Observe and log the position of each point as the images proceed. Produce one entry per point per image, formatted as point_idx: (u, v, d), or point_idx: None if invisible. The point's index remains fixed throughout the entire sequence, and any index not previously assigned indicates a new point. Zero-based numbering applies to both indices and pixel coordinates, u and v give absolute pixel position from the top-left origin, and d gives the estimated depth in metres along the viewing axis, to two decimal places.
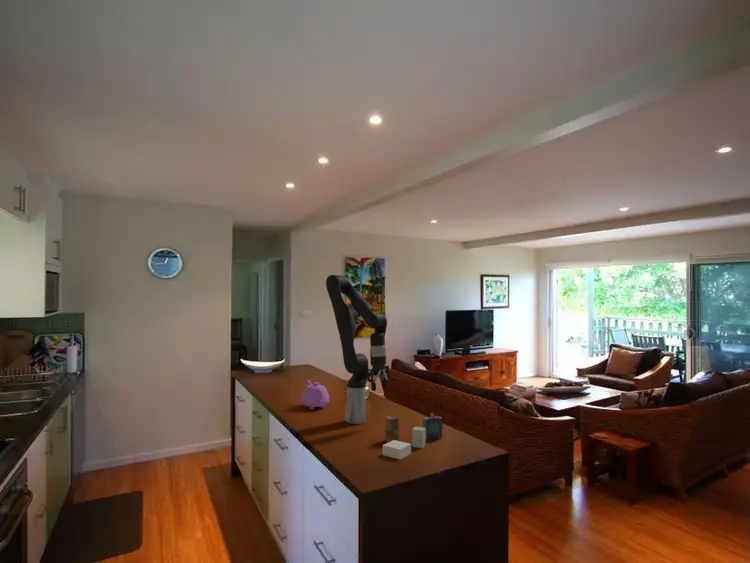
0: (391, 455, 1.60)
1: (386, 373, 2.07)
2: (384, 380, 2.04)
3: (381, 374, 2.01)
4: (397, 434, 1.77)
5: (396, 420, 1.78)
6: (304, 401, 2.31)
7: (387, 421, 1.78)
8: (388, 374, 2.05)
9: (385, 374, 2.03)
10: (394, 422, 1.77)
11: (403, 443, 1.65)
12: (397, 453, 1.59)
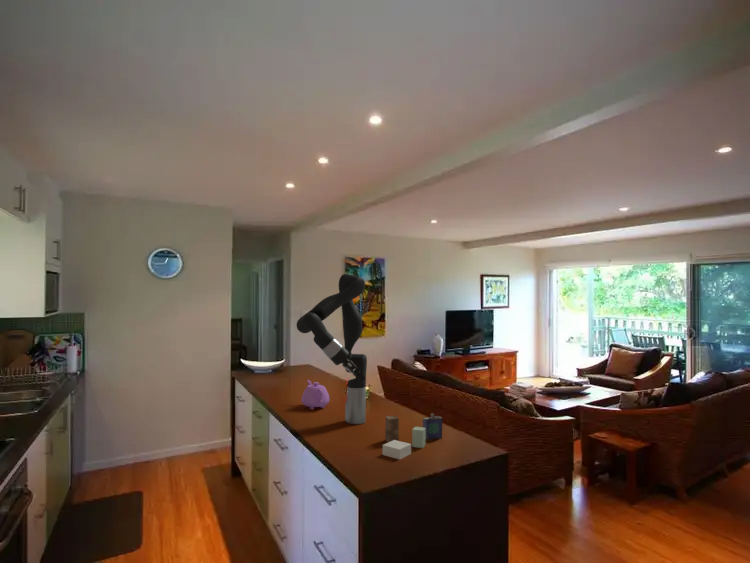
0: (391, 455, 1.60)
1: (356, 368, 1.69)
2: None
3: (348, 368, 1.75)
4: (397, 434, 1.77)
5: (396, 420, 1.78)
6: (304, 401, 2.31)
7: (387, 421, 1.78)
8: (352, 372, 1.70)
9: (349, 371, 1.73)
10: (394, 422, 1.77)
11: (403, 443, 1.65)
12: (397, 453, 1.59)
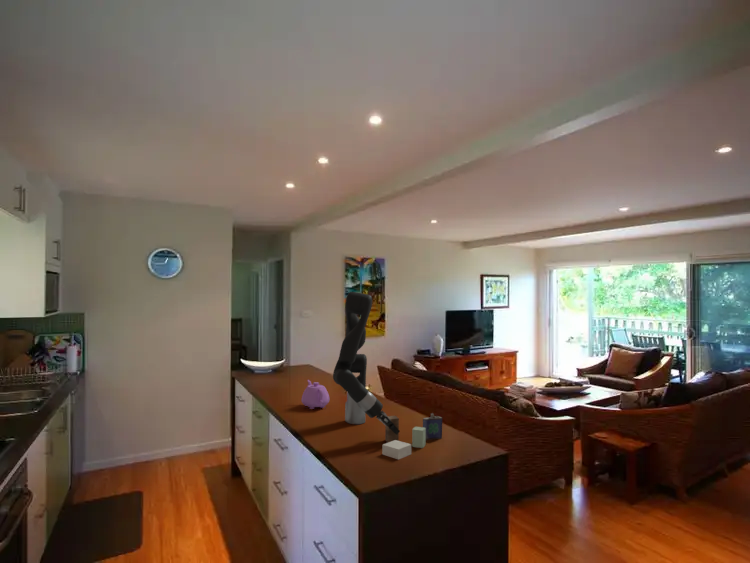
0: (390, 455, 1.60)
1: (391, 423, 1.74)
2: None
3: None
4: (397, 434, 1.77)
5: (396, 420, 1.78)
6: (304, 401, 2.31)
7: None
8: None
9: None
10: (394, 422, 1.77)
11: (403, 443, 1.65)
12: (396, 453, 1.59)
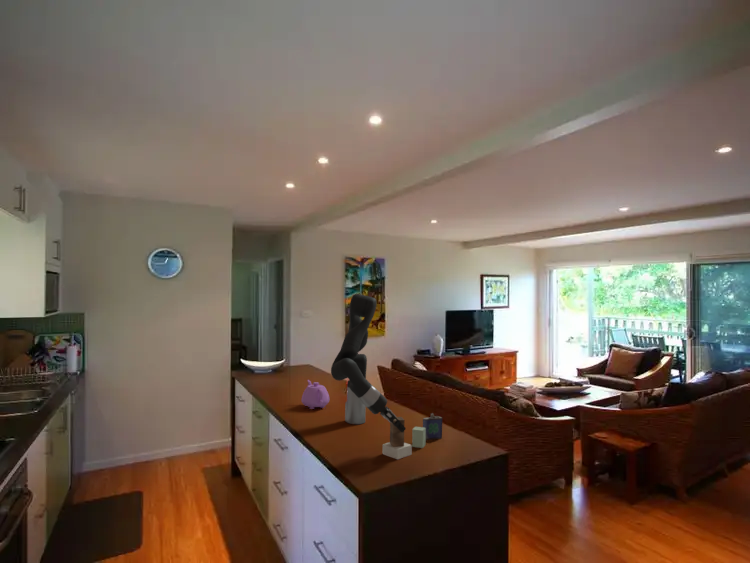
0: (390, 455, 1.61)
1: (396, 419, 1.57)
2: None
3: None
4: (402, 437, 1.62)
5: (401, 421, 1.62)
6: (304, 401, 2.31)
7: (392, 423, 1.63)
8: None
9: None
10: None
11: (404, 444, 1.64)
12: (395, 454, 1.59)
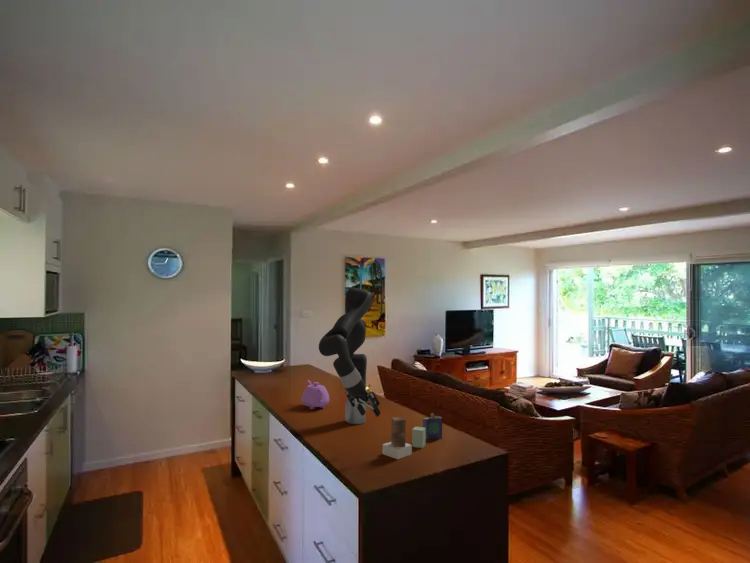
0: (390, 455, 1.61)
1: (377, 400, 1.59)
2: None
3: (362, 402, 1.62)
4: (404, 437, 1.62)
5: (402, 421, 1.62)
6: (304, 401, 2.31)
7: (393, 423, 1.62)
8: None
9: (366, 404, 1.60)
10: (401, 424, 1.62)
11: None
12: (395, 453, 1.59)
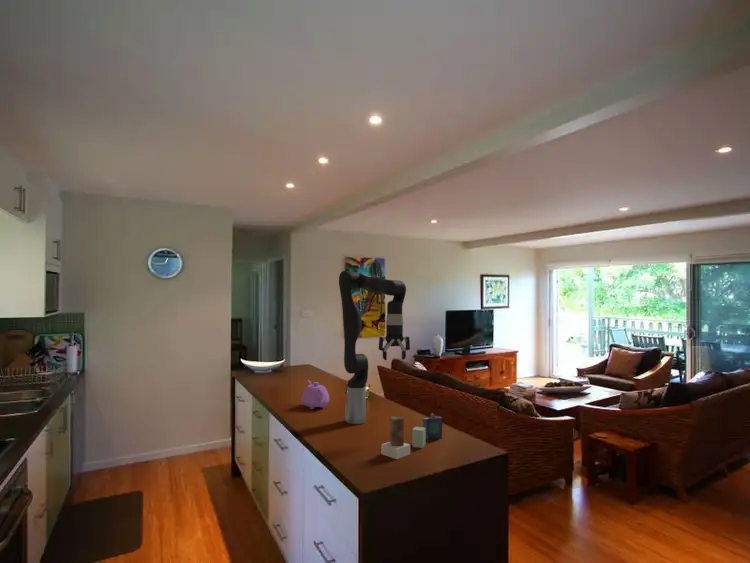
0: (389, 455, 1.61)
1: None
2: (402, 351, 1.92)
3: (396, 344, 1.91)
4: (402, 436, 1.63)
5: (400, 420, 1.63)
6: (304, 401, 2.31)
7: (391, 422, 1.64)
8: (407, 346, 1.92)
9: (401, 345, 1.91)
10: (399, 423, 1.63)
11: None
12: (394, 453, 1.59)
